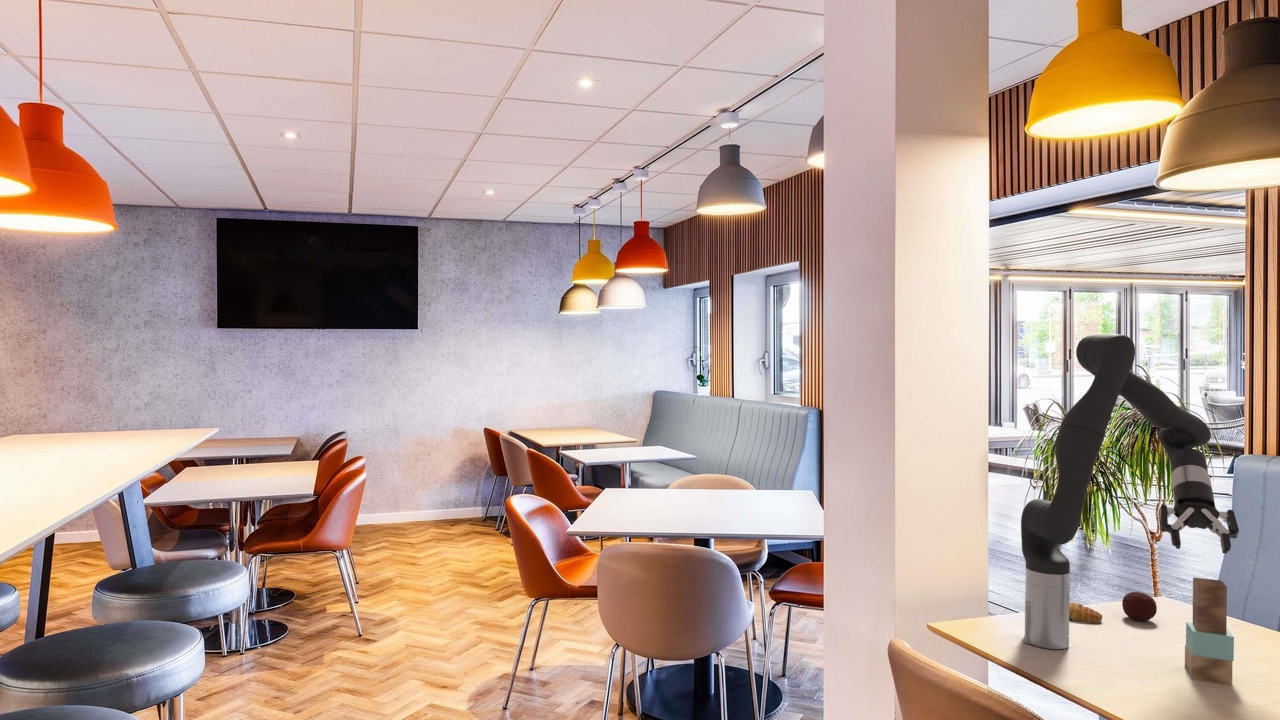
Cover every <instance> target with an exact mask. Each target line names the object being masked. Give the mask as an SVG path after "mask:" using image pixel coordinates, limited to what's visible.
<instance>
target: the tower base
mask: <svg viewBox="0 0 1280 720" xmlns="http://www.w3.org/2000/svg"><path fill="white" fill-rule="evenodd" d="M1184 669H1185V671H1186V673H1187V674H1188V676H1189V678H1190V680H1196V681H1201V682H1209V683H1215V684H1220V685H1221V684H1222V685H1227V686H1233V661H1228V660H1221V659H1214V658H1207V657H1200V656H1193V655H1192V654H1191V652H1190V650H1189V649H1188V647H1187V645H1186V644H1184Z"/></svg>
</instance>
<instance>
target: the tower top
mask: <svg viewBox="0 0 1280 720" xmlns="http://www.w3.org/2000/svg"><path fill="white" fill-rule="evenodd" d="M1185 645H1187V647H1188V649H1189V650H1190V652H1191V654H1192V655H1193V656H1200V657H1207V658H1214V659H1221V660H1228V661H1232V662H1234V656H1235V655H1234V654H1235V653H1234V651H1235V636H1234V635H1233V634H1232V633H1231V632H1230V629H1228V628H1227V629H1226V635H1224V634H1216V633H1209V632H1201V631H1197V630H1196V628H1195V627H1194V625H1193V621H1185Z"/></svg>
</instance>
